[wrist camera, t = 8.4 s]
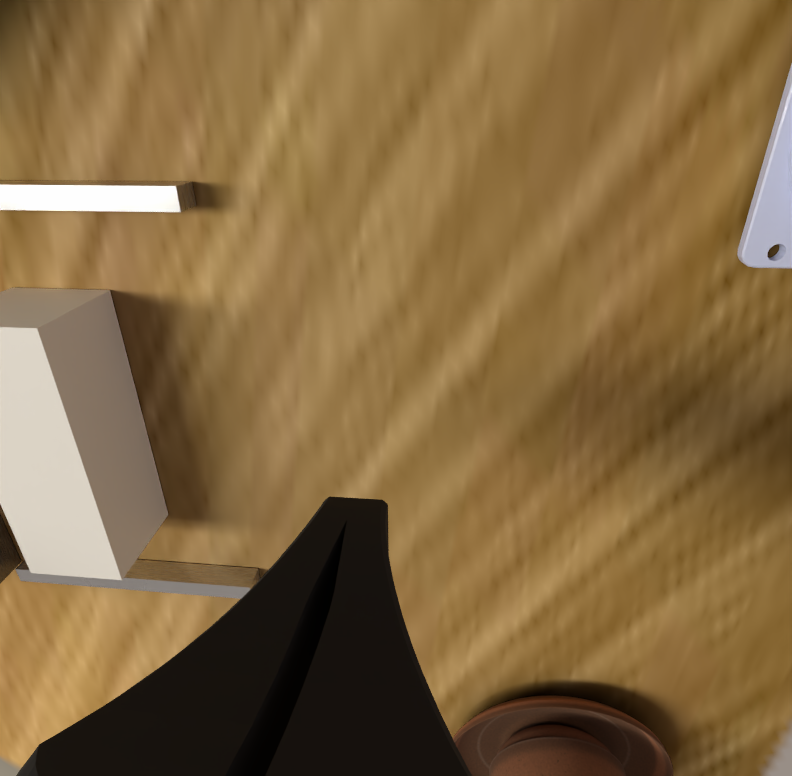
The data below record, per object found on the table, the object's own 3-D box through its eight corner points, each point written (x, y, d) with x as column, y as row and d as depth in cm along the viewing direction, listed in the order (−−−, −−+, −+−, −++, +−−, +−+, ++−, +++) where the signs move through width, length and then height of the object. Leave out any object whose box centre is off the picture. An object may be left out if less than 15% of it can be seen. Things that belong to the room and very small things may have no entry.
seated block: (109, 290, 20) (36, 328, 17) (168, 514, 25) (122, 580, 22) (12, 287, 21) (-80, 324, 17) (89, 509, 26) (30, 572, 22)
